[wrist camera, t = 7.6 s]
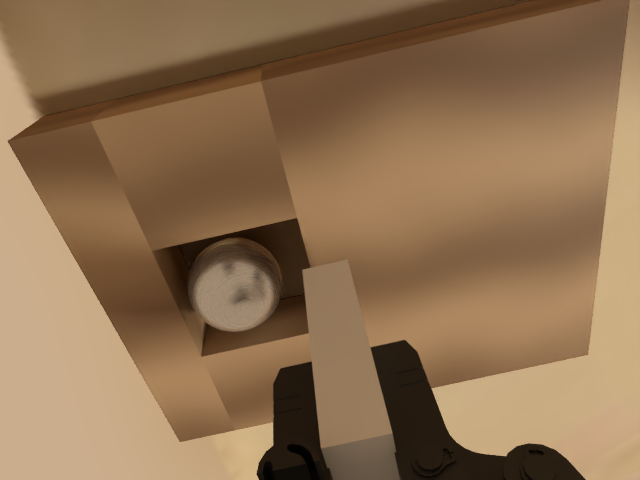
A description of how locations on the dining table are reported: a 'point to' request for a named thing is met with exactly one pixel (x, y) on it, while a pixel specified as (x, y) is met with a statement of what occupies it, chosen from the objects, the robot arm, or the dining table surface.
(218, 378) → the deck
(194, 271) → the ball
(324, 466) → the robot arm
